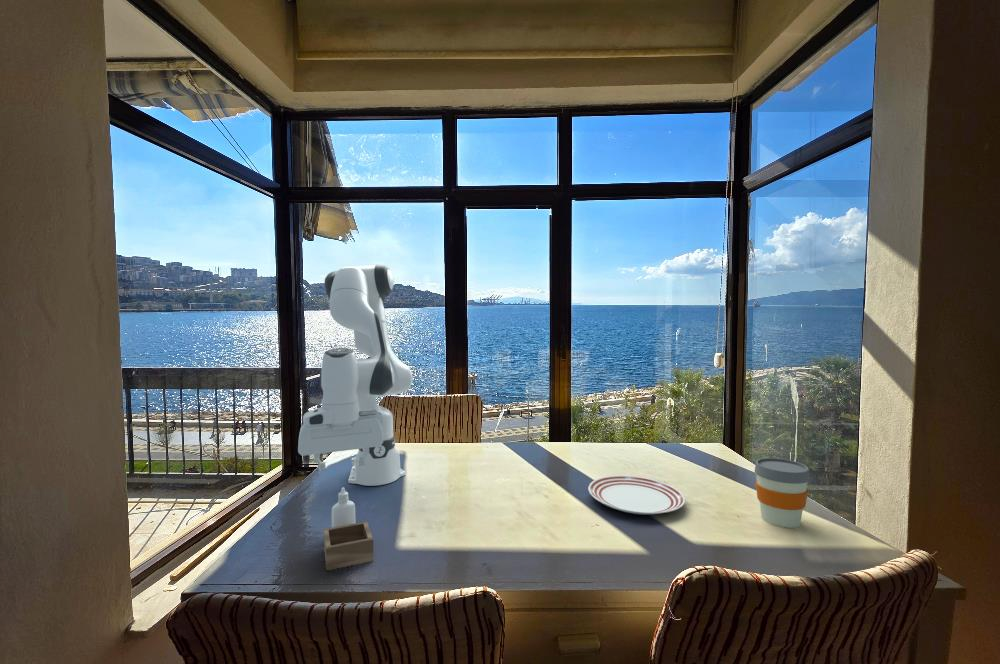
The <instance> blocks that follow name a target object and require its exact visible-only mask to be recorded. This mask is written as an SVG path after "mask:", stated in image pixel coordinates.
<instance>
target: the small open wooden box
mask: <svg viewBox="0 0 1000 664" xmlns="http://www.w3.org/2000/svg"><path fill="white" fill-rule="evenodd" d="M323 551H324V552H325V553H324V559H325V560H324V561H326V562H325V567H326V568H325V570H329V571H333V569H334V570H338V569H337V568H339V569H342V567H343V568H348V567H352V566H351V565H353V566H357V565H361V564H362V565H363V564H366V563H367V564H368V563H370V562H374V561H375V560H374V558H375V557H374V537H373V534H372V531H371V529H370V526H369V523H368V521H367V520H366V521H361V522H356V523H354V524H349V525H343V526H338V527H332V526H331V527H328V528H323ZM347 566H348V567H347Z"/></svg>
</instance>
